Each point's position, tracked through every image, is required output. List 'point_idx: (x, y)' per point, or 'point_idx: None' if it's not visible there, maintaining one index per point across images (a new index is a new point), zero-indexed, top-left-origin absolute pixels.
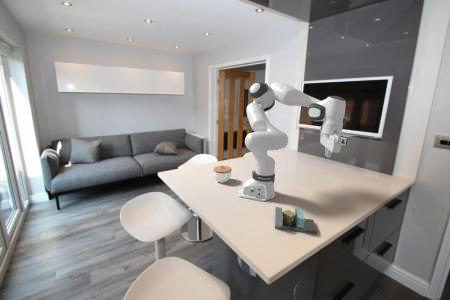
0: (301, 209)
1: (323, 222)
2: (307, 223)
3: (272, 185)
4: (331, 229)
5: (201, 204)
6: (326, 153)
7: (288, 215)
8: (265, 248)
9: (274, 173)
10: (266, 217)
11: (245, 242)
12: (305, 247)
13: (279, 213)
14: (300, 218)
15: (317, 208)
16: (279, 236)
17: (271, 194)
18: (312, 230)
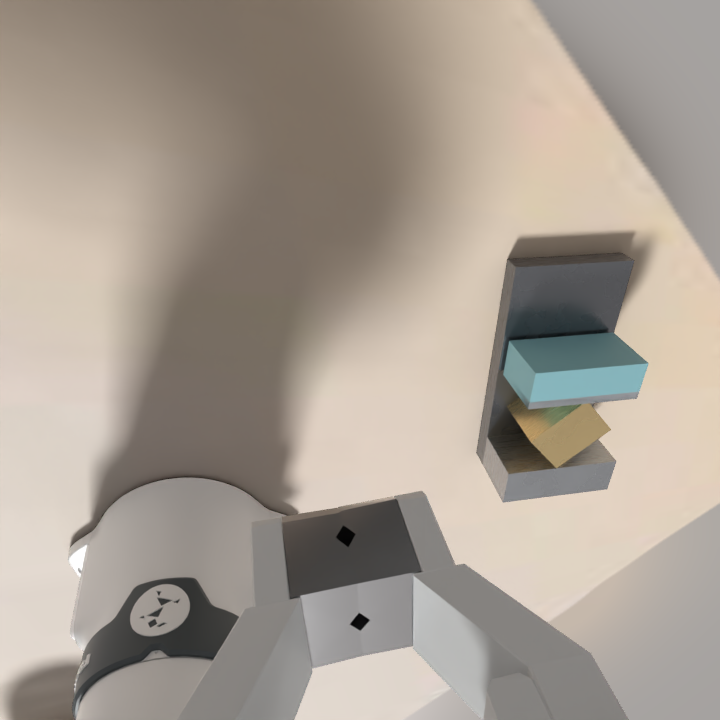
0: (534, 376)
1: (504, 188)
2: (561, 306)
3: (214, 569)
4: (584, 151)
5: (394, 702)
6: (356, 643)
7: (596, 438)
8: (697, 459)
9: (146, 654)
10: (474, 484)
11: (655, 520)
12: (717, 319)
13: (574, 478)
14: (639, 384)
15: (299, 195)
16: (630, 421)
17: (236, 516)
18: (625, 284)
